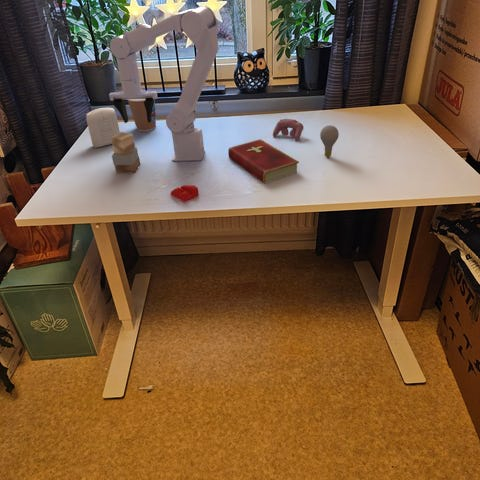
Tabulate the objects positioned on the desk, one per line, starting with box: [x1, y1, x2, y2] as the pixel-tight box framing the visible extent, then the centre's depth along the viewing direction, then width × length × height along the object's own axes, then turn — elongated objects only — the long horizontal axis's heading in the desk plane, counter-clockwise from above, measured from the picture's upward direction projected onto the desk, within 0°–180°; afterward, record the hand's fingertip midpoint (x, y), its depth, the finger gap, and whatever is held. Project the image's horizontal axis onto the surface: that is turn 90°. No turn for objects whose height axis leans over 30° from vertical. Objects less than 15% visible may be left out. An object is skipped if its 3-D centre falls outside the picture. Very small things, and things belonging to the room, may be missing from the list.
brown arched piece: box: [272, 118, 305, 142], centre depth 150 cm, size 10×5×7 cm, turn 58°
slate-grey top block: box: [111, 146, 140, 166], centre depth 135 cm, size 6×6×3 cm
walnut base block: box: [114, 156, 141, 174], centre depth 137 cm, size 6×6×3 cm
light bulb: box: [319, 124, 340, 158], centre depth 134 cm, size 5×5×10 cm
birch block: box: [111, 131, 136, 155], centre depth 133 cm, size 4×4×5 cm
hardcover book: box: [227, 138, 300, 184], centre depth 134 cm, size 12×21×4 cm, turn 30°
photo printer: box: [85, 107, 121, 149], centre depth 151 cm, size 10×4×12 cm, turn 123°
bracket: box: [170, 184, 200, 203], centre depth 121 cm, size 6×5×3 cm
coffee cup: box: [126, 99, 157, 132], centre depth 162 cm, size 10×10×12 cm
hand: (138, 121), depth 141 cm, fingers open, 7 cm apart
